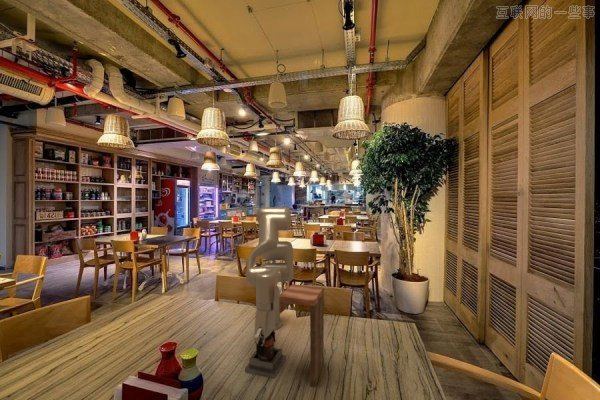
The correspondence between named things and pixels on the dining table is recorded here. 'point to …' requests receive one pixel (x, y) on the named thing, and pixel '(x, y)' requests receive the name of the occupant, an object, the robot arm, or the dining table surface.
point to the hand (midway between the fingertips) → (266, 348)
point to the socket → (266, 364)
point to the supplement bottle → (268, 348)
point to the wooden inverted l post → (316, 302)
